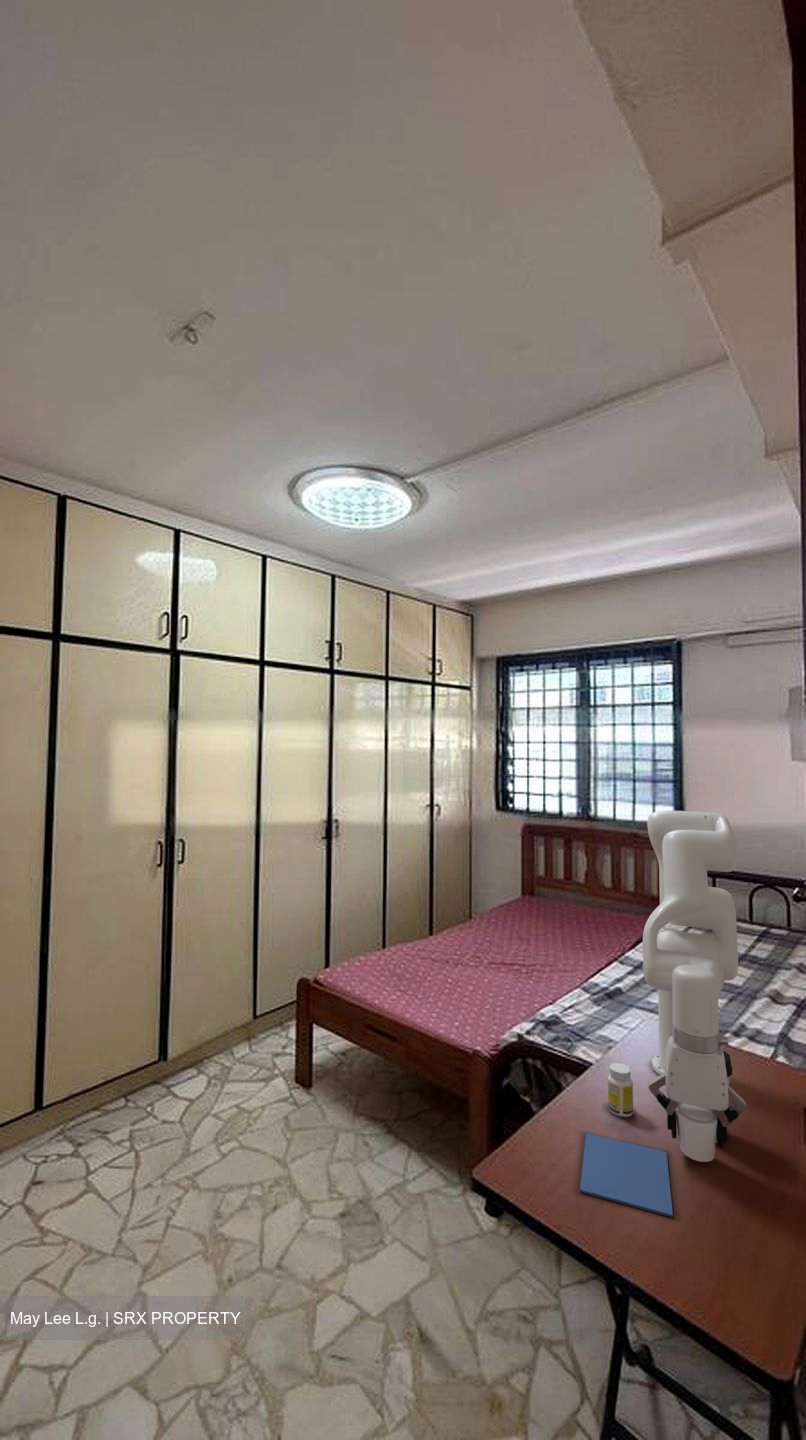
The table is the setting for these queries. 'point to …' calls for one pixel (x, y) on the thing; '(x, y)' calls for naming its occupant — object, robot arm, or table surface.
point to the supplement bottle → (620, 1090)
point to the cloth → (626, 1174)
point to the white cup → (696, 1131)
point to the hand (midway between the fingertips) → (696, 1138)
